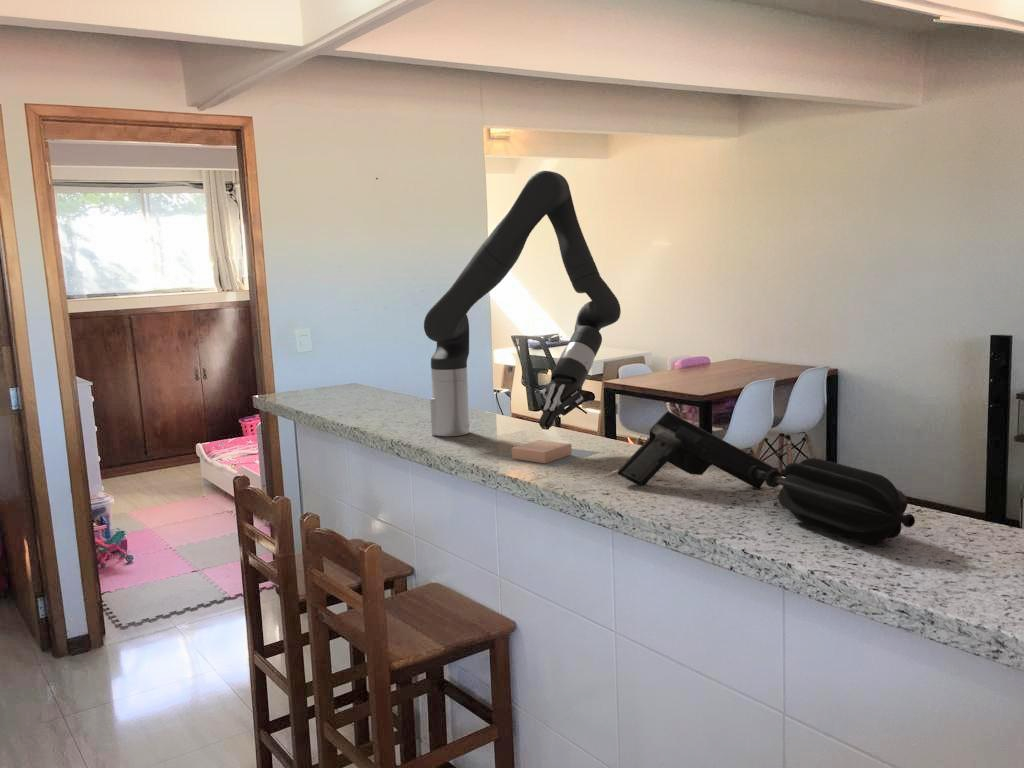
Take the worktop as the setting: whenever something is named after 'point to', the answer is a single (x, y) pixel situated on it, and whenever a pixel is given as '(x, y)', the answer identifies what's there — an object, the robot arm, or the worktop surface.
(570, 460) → the mat
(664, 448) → the handgun
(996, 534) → the worktop surface
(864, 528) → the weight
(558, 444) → the tile
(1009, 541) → the worktop surface
